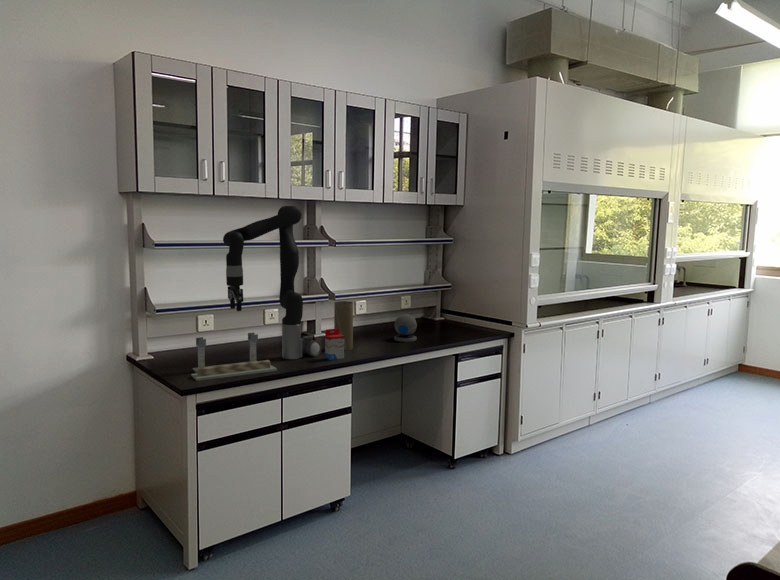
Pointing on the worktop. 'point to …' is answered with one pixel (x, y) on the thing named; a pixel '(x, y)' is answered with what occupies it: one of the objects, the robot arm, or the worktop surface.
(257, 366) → the rail
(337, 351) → the ink box
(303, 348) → the pipe fitting
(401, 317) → the webcam
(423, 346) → the worktop surface
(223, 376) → the mat
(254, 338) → the hook stand
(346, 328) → the tube
